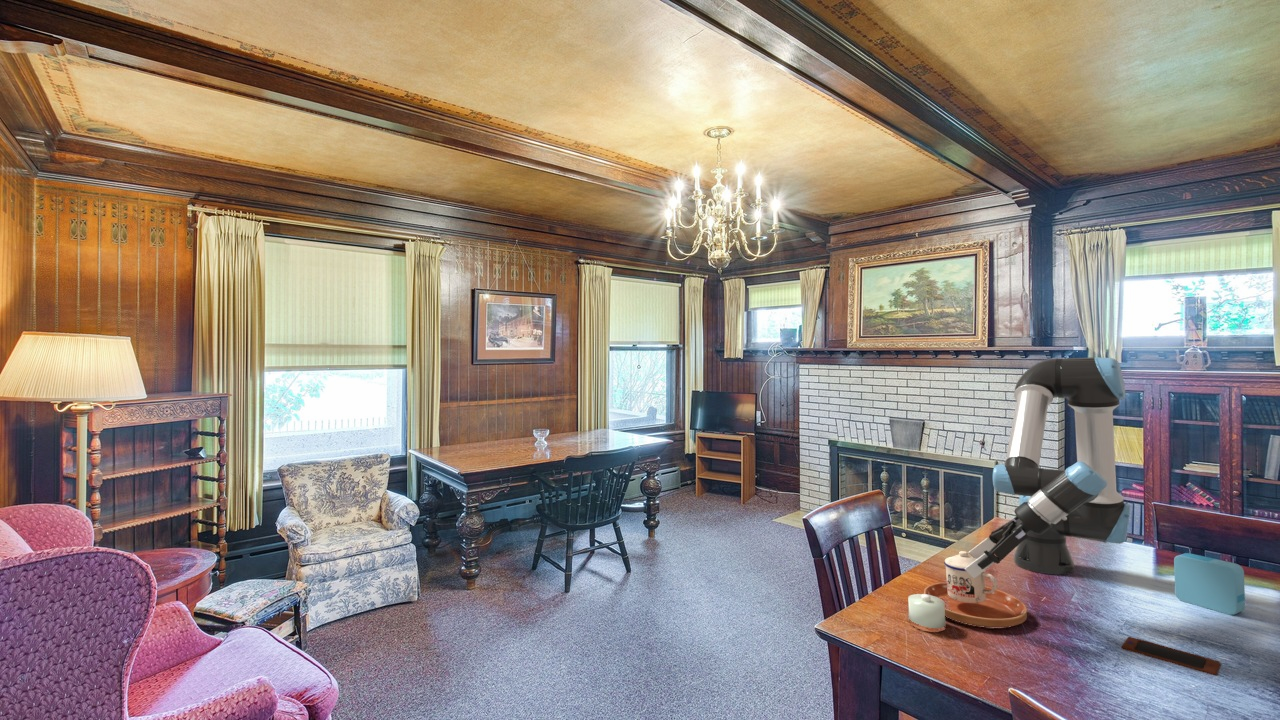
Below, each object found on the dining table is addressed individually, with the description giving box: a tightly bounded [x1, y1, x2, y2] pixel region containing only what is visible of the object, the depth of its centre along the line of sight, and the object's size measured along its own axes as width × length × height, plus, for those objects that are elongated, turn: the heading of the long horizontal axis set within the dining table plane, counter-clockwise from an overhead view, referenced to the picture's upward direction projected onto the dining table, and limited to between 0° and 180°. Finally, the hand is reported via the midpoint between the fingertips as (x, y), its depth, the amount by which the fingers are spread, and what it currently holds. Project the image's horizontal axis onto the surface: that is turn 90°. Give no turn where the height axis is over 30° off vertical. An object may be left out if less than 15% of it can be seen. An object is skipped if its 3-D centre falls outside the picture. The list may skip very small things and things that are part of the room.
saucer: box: [923, 581, 1028, 628], centre depth 146 cm, size 23×23×4 cm
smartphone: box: [1120, 636, 1222, 677], centre depth 122 cm, size 7×1×15 cm
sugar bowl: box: [907, 593, 946, 628], centre depth 139 cm, size 8×8×7 cm
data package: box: [1173, 552, 1246, 616], centre depth 145 cm, size 12×4×12 cm, turn 24°
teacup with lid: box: [943, 550, 998, 603], centre depth 145 cm, size 12×9×12 cm
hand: (970, 564), depth 146 cm, fingers open, 13 cm apart
